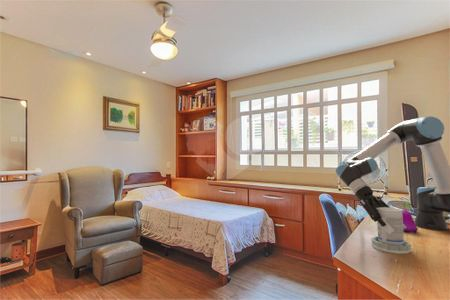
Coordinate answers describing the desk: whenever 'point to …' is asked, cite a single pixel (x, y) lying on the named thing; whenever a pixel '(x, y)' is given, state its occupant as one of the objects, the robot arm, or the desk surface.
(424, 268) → the desk surface
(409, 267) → the desk surface
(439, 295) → the desk surface
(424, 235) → the desk surface
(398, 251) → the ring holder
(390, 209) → the supplement tub
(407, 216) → the magenta faceted rounded piece
